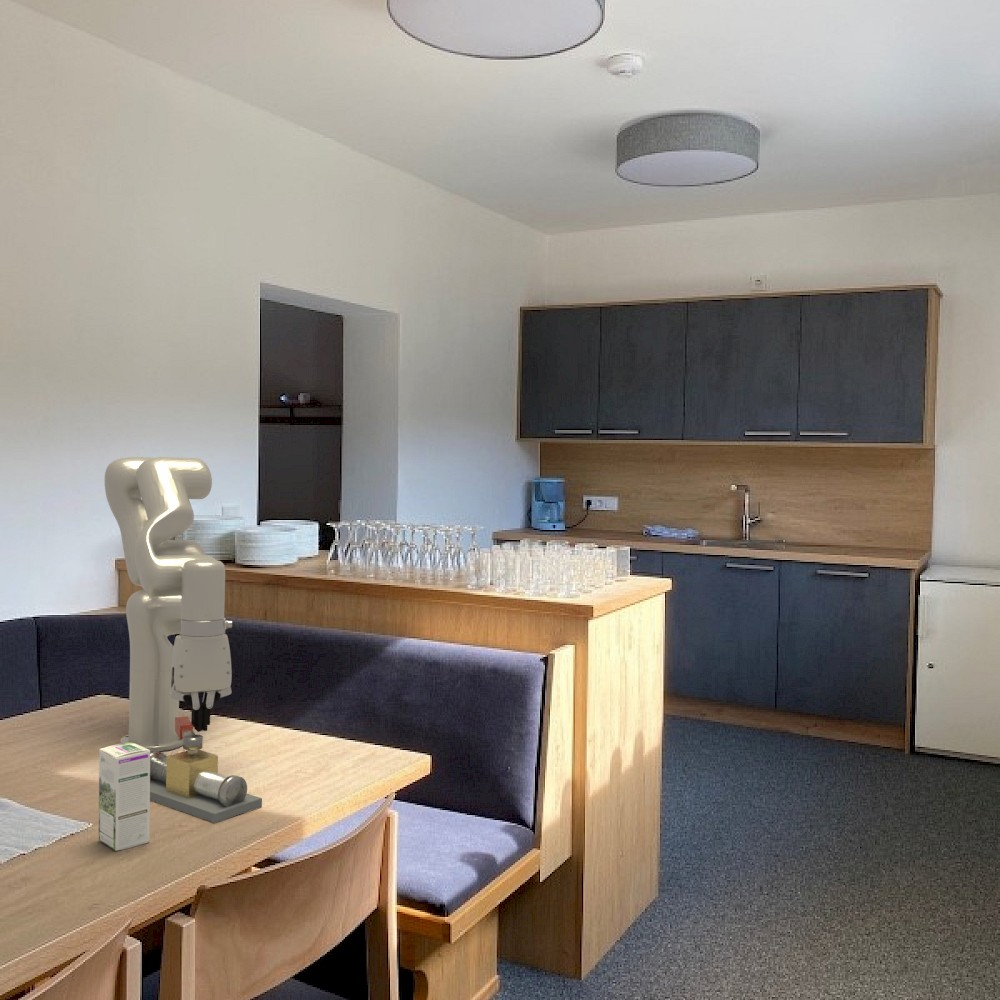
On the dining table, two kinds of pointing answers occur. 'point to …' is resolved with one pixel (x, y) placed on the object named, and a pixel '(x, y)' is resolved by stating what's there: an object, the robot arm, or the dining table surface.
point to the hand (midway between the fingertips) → (200, 729)
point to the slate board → (201, 803)
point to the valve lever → (188, 735)
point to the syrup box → (124, 795)
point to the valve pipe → (197, 777)
